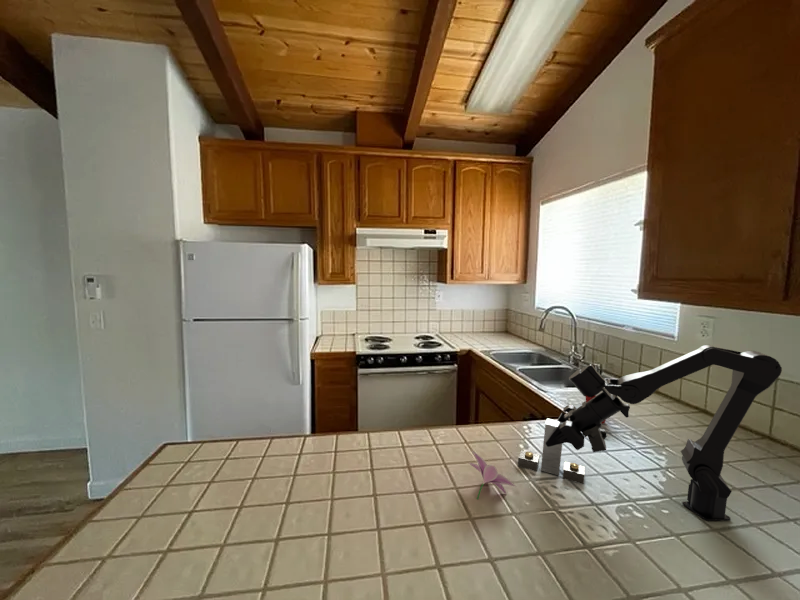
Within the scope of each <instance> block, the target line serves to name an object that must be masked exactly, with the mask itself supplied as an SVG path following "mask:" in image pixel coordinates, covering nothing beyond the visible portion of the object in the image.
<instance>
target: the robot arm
mask: <svg viewBox="0 0 800 600" xmlns="http://www.w3.org/2000/svg"><path fill="white" fill-rule="evenodd" d="M711 366H718V367H721V368H725V369H728V370H732V375H731V385H730V387H729V388H728V390H727V391H726V393H725V396H724V398H723V399H722V401H721V402H720V404H719V406H718V408H717V410H716V412H715V413H714V415H713V417H711V420H710V422H709V424H708V426H707V427H706V430H704V433H703V434H702V436H701V437H700V438H698V439H697V440H696V441H694V440H693V439H691V438H688V439H687V440H686V444H685V446H684V447H683V449H681V450H680V453H681V455H682V456H681V461H682V463H683V465H684V467H685V469H686V472H687V473H688V475H689V477H690V478H691V479H690V481H689V484H688V490H687V498H686V500H685V501H683V500H682V502H681V504H682V505H683V506H685V507H686V508H687V509H689V510H690V511H692V512H693V513H694V514H696V515H697V516H698V517H700V518H702V519H703V520H704V521H707V522H716V521H717V522H718V521H731V517H730V516H729V515H728V514H726V511H727V503H728V502H727V501H728V498H729V496H730V495H731V494H732V492H733V491H732V489H730V486H729V485H728V484H727V482H726V481H725V479H724V478H723V477H722V475H721V473H722V471H723V467H724V458H725V457H724V456H725V450H726V449H727V447H728V445H729V444H730V442H731V440H732V438H733V436H734V435H735V434H736V431H737V429H738V428H739V426H740V424H741V423H742V421H743V419H744V418H745V416H746V414H747V413H748V411H749V410H750V407H751V406H752V404H753V402H754V400H755V399H756V397H757V396H758V395H759V396H760V394H761V393H763V392H765V391H766V390H768V389H769V388H770V387H771V386H772V385H773V384H774V383H775V382H776V381H777V379H778V378H779V377H780V376H781V374H782V371H783V368H782V365H781V364H780V362H779V361H778V360H777V359H776V358H774V357H772V356H770V355H767V354H766V353H762V352H760V351H757V350H747V351H746V350H745V351H743V352H741V351H737V350H733V349H726V348H721V347H717V346H714V345H710V344H704V345H701V346H700V347H699V348H697V349H694V350H693V351H690V352H688V353H686V354H684V355H681V356H679V357H677V358H675V359H672V360H670V361H667V362H665V363H663V364H662V365H661V364H660V365H659V366H657V367H654V368H653V369H650V370H646V371H640V372H633V373H631V374H627V375H623V376H621V377H620V378H606V377H605V378H604V377H603V376H602V375H601V374H600V373H599V372H598V371H597V370H596V368H595V366H594V365H593V364H591V363H590V364H587V365H586V366H584V367H582V368H579V369H577V370H576V371H575V372H573V373H572V374H571V375H570V376H569V377H568V380H569V381H570V382H571V383H572V384H573V385H574V387H575V388H576V389H577V390H578V391H579V392H580V393H581V395H582V396H583V397H585V396H588V397H593V396H595V395H597V394H598V393H599V392H601V391H603V392H602V393H600V394H599V395H597V396H596V397H594V398H592V399H591V400H589V401H588V402H586V400H585V401H583V402H582V403H581V405H580V406H579V407H576V406H575V405H573V404H567V405H566V406H564V407H563V410H562V411H563V412H561V413H560V415H559V417H558V418H557V420H556V421H560V422H563V423H562V424H561V423H559V424H558V426H557V427H556V429H555V430H554V432H553V433H552V434H551V436H550V437H549V439H548V440H547V442H546V445H547V446H548V447H550V446H554V445H558V444H562V445H563V444H571V446H572V447H573V448H574V449H575V450H576V451H579V450H580V449H582V448H584V447H585V438H586V437H587V438H588V441H589V443H590V446H591V450H592V452H593V453H598V452H604V451H607V445H606V441H605V439H607V437H608V435H607V431H606V430H605V429H604V428H602V425H603V423H601V422H603V421H604V420H606V421H607V420H608V419H610V417H612V416H614V415H616V414H617V413H619V412H620V413H621V414H622V415H623V416H624V417H625V418H629V411H630V408H631V406H630V405H637V404H640V403H641V402H643V401H644V400H646V399H647V398H649V397H650V396H652V395H653V394H654V393H655V392H656V391H657V390H659V389H660V388H663V387H664V386H666V385H668V384H670V383H673V382H676V381H678V380H680V379H683V378H684V377H687V376H690V375H692V374H694V373H697V372H698V371H701V370H704V369H706V368H708V367H711ZM611 394H612V395H611Z"/></svg>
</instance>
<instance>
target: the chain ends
mask: <svg viewBox="0 0 800 600" xmlns="http://www.w3.org/2000/svg"><path fill="white" fill-rule="evenodd" d="M540 457H541V455H540V454H536V453H533V452H531V451H526V450H520V452H519V455H518V460H517V467H519V468H523V469H527V470H530V471H534V472H537V471H538V468H539V465H540ZM585 471H586V466H585V465H581V464H578V463H574V462H569V461H564V463H563V471H562V479H563V480H567V481H570V482H574V483H576V484H577V483H578V484H582V485H584V484H585V473H586V472H585Z"/></svg>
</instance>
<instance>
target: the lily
mask: <svg viewBox="0 0 800 600" xmlns="http://www.w3.org/2000/svg"><path fill="white" fill-rule="evenodd" d="M471 453H472V454H473V455H474V457H475V460H476V463H477V464H476V463H474V462H468V464H469V465H470V466H471V467H473V468H474V469H475V470H477V471H478V472H479V473H480V474H481V478H482V480H483V481H482V484H481V486H480V489H479V491H478V495H477V498H476V500H479V498H480V494H481V491H482V488H483V487H484V484H487V483H488V484H493V485H495V486H496V487H498V489H500V490H501V492H502V493H504V494H505V495H507V492H506V489H505V487H504V486H503V485H507V486H511V487H514V488H517V486H516V485H515V484H514V483H513V482H512V480H510V479H509V478H507V477H506V476H505V475H503V474H500V473H498V470H497V468H496V466H495V465H492V464H488V463H487V462H486V460H485V459H484V458H483V457H482V456H480V455H479V454H478V453H477V452H476V451H474V450H471Z"/></svg>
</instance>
